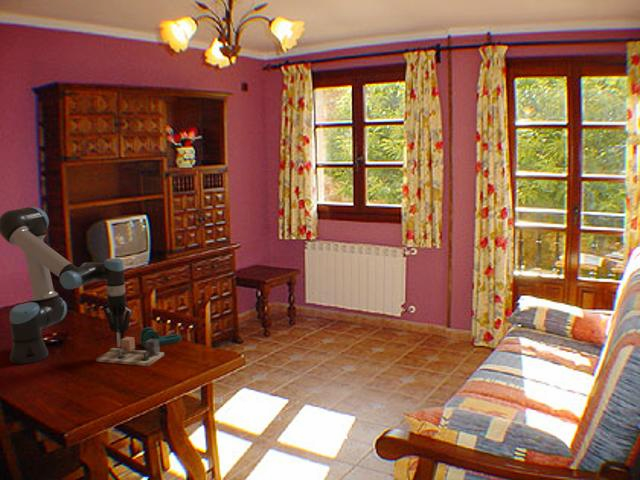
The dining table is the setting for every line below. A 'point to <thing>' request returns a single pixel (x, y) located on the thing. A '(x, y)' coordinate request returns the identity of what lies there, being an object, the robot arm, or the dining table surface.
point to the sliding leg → (127, 344)
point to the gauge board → (134, 355)
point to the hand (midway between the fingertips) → (120, 345)
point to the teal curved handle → (163, 340)
